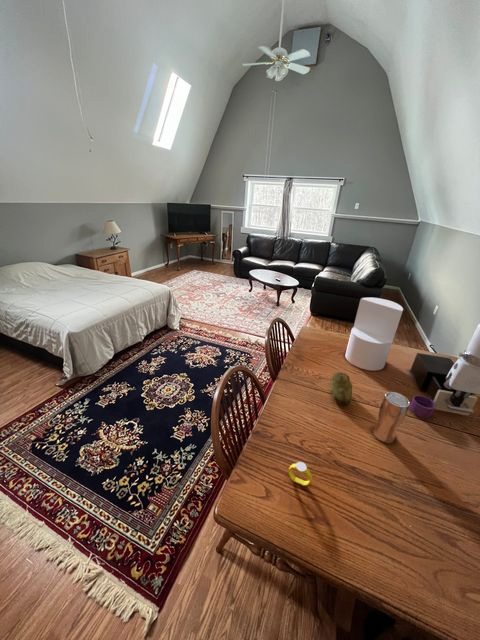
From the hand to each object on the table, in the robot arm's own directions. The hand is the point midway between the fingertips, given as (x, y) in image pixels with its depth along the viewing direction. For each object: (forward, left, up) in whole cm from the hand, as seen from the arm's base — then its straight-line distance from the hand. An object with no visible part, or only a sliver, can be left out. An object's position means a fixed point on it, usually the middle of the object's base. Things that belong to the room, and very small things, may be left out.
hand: (454, 403), depth 92 cm
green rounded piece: (+37, +1, -6) cm, 38 cm away
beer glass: (+24, +16, -6) cm, 30 cm away
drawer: (-1, -6, -5) cm, 8 cm away
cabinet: (-1, -20, -6) cm, 20 cm away
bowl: (+9, 0, -6) cm, 11 cm away
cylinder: (+24, -30, -6) cm, 39 cm away
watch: (+49, +40, -6) cm, 64 cm away
